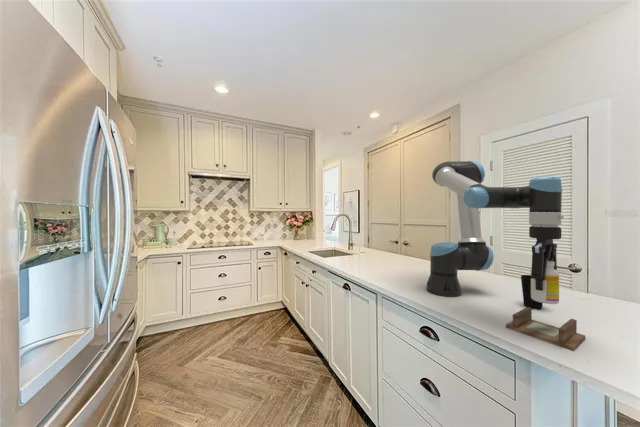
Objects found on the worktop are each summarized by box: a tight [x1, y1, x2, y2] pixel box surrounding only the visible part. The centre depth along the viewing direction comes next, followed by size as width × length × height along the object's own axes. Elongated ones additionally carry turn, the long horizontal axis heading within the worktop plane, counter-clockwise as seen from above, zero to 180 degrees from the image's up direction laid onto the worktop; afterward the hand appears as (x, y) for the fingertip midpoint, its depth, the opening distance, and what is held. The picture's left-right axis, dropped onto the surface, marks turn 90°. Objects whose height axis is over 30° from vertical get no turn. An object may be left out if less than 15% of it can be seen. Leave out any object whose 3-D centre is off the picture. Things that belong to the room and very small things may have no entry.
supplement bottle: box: [530, 260, 560, 305], centre depth 77 cm, size 7×7×13 cm
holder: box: [505, 306, 586, 352], centre depth 77 cm, size 16×12×5 cm
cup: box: [520, 274, 544, 310], centre depth 99 cm, size 8×8×12 cm
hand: (544, 298), depth 77 cm, fingers closed on supplement bottle, 7 cm apart
